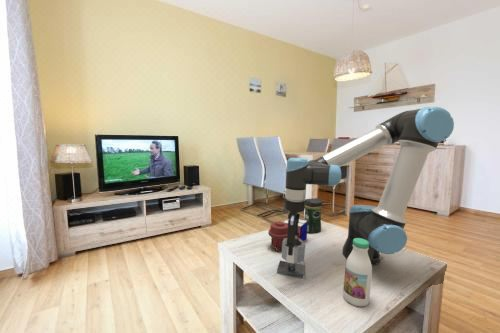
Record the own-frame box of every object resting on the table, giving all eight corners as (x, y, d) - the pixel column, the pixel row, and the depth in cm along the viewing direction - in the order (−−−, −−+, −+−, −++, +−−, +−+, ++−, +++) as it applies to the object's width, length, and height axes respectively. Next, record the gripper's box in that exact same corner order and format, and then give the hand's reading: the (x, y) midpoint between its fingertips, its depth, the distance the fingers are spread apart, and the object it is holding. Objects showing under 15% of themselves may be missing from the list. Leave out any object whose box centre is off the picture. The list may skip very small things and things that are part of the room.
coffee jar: (314, 227, 135) (316, 196, 133) (323, 232, 128) (325, 199, 126) (300, 228, 132) (302, 197, 130) (308, 234, 125) (310, 201, 122)
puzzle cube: (300, 246, 110) (301, 226, 109) (280, 241, 115) (281, 222, 114) (306, 239, 119) (308, 220, 117) (288, 234, 124) (289, 216, 123)
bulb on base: (304, 268, 92) (306, 248, 91) (303, 278, 85) (304, 256, 84) (279, 263, 95) (280, 244, 94) (276, 273, 88) (277, 252, 87)
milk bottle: (352, 288, 80) (357, 233, 78) (373, 301, 74) (380, 242, 71) (337, 296, 76) (342, 238, 74) (359, 311, 70) (365, 248, 67)
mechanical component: (289, 244, 112) (288, 254, 103) (269, 242, 114) (266, 251, 104) (290, 220, 111) (290, 228, 101) (270, 218, 113) (267, 225, 103)
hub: (304, 253, 92) (305, 239, 91) (303, 264, 84) (304, 249, 83) (283, 250, 94) (284, 236, 93) (280, 260, 86) (281, 245, 85)
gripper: (288, 192, 97) (285, 243, 100) (280, 205, 77) (276, 269, 80) (306, 194, 95) (303, 245, 98) (303, 208, 75) (298, 273, 78)
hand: (291, 256), depth 89 cm, fingers closed on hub, 8 cm apart
